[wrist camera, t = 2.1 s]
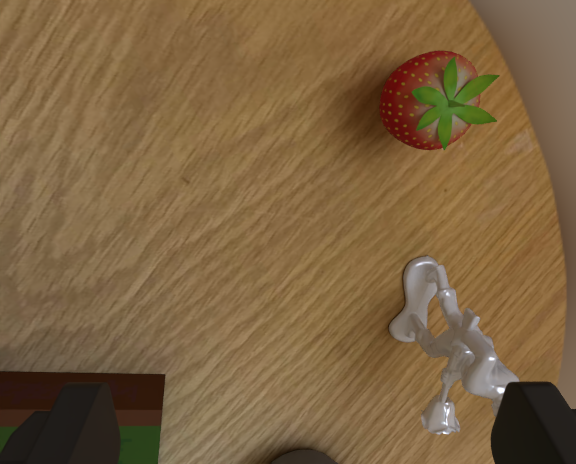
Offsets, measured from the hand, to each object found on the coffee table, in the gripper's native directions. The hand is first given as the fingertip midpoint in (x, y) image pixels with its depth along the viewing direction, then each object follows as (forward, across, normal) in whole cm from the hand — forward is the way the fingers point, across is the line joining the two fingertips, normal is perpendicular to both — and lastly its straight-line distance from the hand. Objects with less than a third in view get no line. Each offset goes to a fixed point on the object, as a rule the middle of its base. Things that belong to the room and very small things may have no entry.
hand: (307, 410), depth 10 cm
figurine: (+22, -10, +15) cm, 29 cm away
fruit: (+24, -7, -1) cm, 25 cm away
